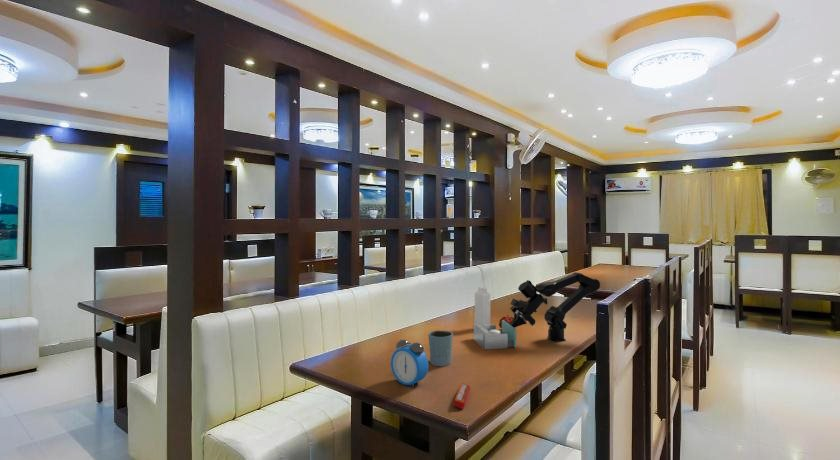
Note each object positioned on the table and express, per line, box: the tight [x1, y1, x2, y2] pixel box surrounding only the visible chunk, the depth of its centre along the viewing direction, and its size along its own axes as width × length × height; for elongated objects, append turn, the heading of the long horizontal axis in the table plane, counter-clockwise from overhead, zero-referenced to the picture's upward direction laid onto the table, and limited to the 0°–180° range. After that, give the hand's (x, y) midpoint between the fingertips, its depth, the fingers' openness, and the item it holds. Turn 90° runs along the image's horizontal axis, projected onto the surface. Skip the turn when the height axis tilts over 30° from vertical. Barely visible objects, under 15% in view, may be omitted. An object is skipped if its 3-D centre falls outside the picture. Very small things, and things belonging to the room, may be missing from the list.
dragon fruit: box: [498, 314, 514, 332], centre depth 215 cm, size 8×8×12 cm
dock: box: [472, 323, 509, 350], centre depth 192 cm, size 11×17×7 cm, turn 8°
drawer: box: [500, 320, 517, 348], centre depth 193 cm, size 11×17×8 cm, turn 8°
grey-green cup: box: [427, 330, 454, 367], centre depth 167 cm, size 10×10×12 cm
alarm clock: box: [390, 339, 429, 388], centre depth 146 cm, size 13×6×15 cm, turn 53°
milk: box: [474, 287, 491, 325], centre depth 218 cm, size 6×6×22 cm
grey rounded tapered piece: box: [489, 329, 501, 334], centre depth 193 cm, size 5×5×4 cm
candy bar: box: [453, 382, 471, 410], centre depth 133 cm, size 16×4×3 cm, turn 165°
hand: (510, 328), depth 194 cm, fingers closed, pressing on drawer
